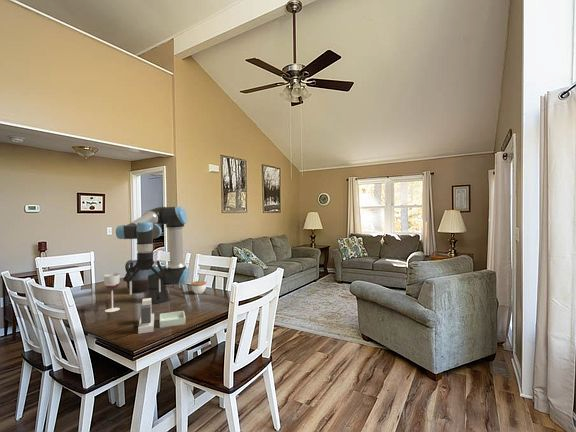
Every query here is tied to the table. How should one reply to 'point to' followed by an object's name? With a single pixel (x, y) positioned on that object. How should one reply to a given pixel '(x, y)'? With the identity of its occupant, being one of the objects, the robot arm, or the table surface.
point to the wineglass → (112, 286)
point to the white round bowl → (198, 287)
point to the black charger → (145, 314)
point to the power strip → (146, 326)
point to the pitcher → (138, 278)
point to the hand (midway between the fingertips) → (145, 292)
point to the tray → (172, 319)
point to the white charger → (147, 302)
